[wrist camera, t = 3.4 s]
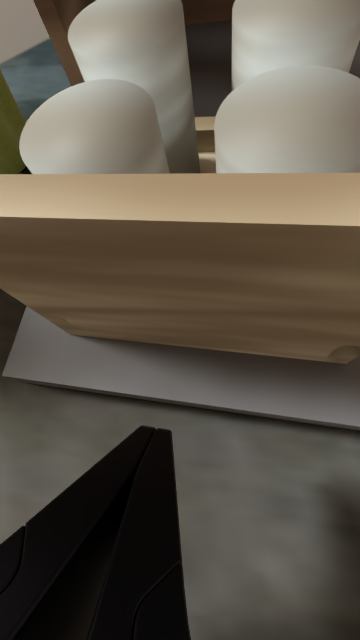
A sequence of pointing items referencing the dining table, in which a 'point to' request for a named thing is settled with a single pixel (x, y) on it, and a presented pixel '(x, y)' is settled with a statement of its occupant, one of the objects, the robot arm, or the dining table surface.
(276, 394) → the wooden display stand
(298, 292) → the tray
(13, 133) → the plant pot
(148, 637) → the robot arm
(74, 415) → the dining table surface
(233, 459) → the dining table surface
